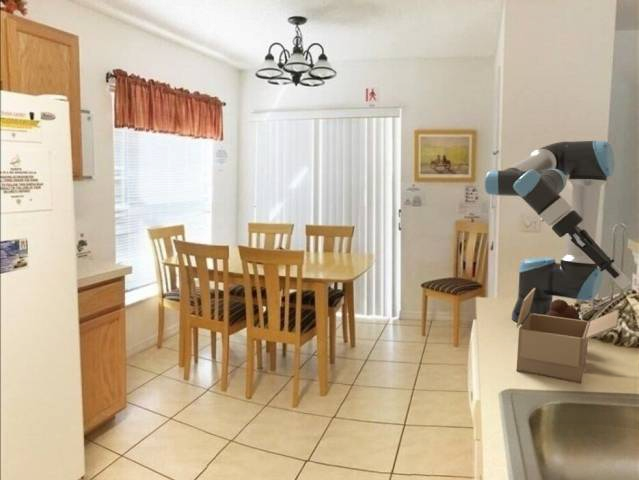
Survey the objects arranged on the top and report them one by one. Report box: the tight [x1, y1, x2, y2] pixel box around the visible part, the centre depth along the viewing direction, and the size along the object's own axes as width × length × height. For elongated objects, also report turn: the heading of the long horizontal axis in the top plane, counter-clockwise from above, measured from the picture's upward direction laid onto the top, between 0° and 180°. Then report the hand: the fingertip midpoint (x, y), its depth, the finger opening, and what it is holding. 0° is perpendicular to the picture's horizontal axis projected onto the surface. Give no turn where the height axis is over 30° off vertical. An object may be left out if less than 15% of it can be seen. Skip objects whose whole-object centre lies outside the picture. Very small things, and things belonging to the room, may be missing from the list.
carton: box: [516, 314, 590, 384], centre depth 151 cm, size 19×16×12 cm
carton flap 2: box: [586, 309, 620, 340], centre depth 144 cm, size 18×8×1 cm
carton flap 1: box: [515, 288, 536, 328], centre depth 153 cm, size 18×8×1 cm
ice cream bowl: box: [546, 298, 582, 320], centre depth 167 cm, size 11×11×15 cm
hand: (626, 285), depth 140 cm, fingers closed
